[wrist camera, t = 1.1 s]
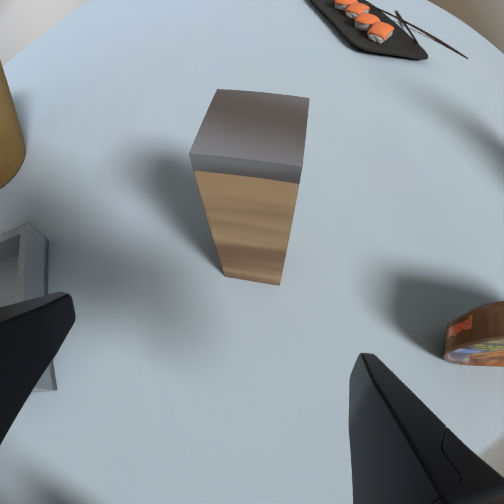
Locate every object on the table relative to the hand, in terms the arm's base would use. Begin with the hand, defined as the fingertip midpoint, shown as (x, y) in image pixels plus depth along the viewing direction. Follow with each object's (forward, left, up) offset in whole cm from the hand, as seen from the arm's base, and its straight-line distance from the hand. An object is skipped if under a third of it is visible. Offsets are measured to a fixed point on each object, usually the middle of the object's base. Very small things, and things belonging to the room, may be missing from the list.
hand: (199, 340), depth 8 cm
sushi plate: (+45, -43, -13) cm, 64 cm away
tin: (-7, -21, -13) cm, 25 cm away
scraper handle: (+7, -4, -12) cm, 15 cm away
